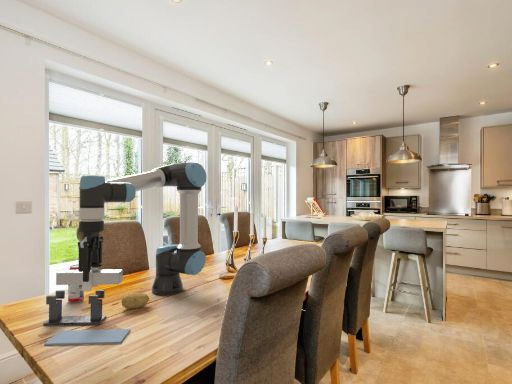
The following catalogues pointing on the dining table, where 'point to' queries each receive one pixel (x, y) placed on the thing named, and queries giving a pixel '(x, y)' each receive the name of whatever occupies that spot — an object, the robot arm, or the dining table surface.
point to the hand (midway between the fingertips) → (90, 288)
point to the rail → (97, 277)
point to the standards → (58, 319)
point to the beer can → (75, 290)
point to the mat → (88, 337)
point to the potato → (134, 300)
